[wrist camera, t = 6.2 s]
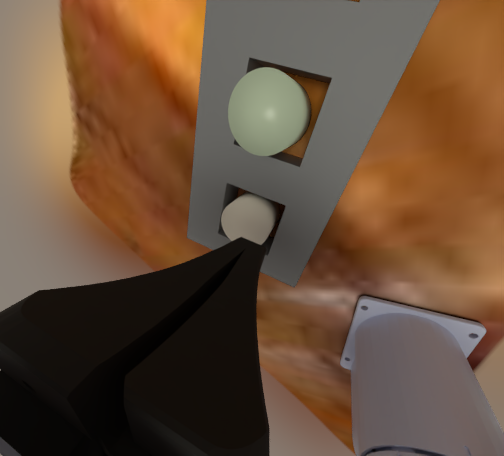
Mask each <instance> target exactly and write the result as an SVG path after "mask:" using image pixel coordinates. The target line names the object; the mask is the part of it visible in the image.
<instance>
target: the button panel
mask: <svg viewBox="0 0 504 456" xmlns="http://www.w3.org/2000/svg"><path fill="white" fill-rule="evenodd" d="M439 1H440V0H360V2H354V1H348V0H207V2H206V14H205V26H204V38H203V50H202V62H201V74H200V86H199V99H198V111H197V123H196V135H195V147H194V159H193V171H192V183H191V195H190V207H189V220H188V232H187V238H189V239H191V240H193V241H195V242H197V243H199V244H202V245H204V246H206V247H208V248H210V249H212V250H215V249H217V248H219V247H221V246H223V245H226V244H227V243H229V242H231V240H230V239H229V238H228V237H227V235H226V234H225V232H224V230H223V228H222V223H221V217H222V213H223V211H224V209H225V208H226V207H227V206H228V205H229V204H230V203H232V202H233V201H234V200H236V198H237V193H238V188H241V189H244V190H247V191H249V192H252V193H254V194H257V195H260V196H262V197H265V198H267V199H270V200H272V201H275V202H278V203H280V204H283V205H285V206H286V207H285V210H284V213H283V216H282V218H281V221H280V224H279V227H278V229H277V232H276V235H275V238H274V239H273V238H270V237H267V239H266V240H265V242H264V243H263V244H261V245H262V246H264V247H266V249H267V251H266V254H265V257H264V260H263V263H262V266H261V269H260V272H262V273H264V274H266V275H268V276H271V277H273V278H275V279H277V280H279V281H281V282H284V283H286V284H288V285H290V286H292V287H294V288H295V286H296V284H297V282H298V280H299V278H300V276H301V274H302V272H303V270H304V268H305V266H306V264H307V262H308V260H309V258H310V256H311V254H312V252H313V250H314V248H315V246H316V244H317V242H318V240H319V238H320V236H321V234H322V232H323V230H324V228H325V226H326V224H327V222H328V220H329V218H330V216H331V214H332V213H333V211H334V209H335V207H336V205H337V203H338V201H339V199H340V197H341V195H342V193H343V191H344V189H345V187H346V185H347V183H348V181H349V179H350V177H351V175H352V173H353V171H354V169H355V167H356V165H357V163H358V161H359V159H360V157H361V155H362V153H363V151H364V149H365V147H366V145H367V143H368V141H369V139H370V137H371V135H372V133H373V131H374V129H375V127H376V125H377V123H378V121H379V119H380V118H381V116H382V114H383V112H384V110H385V108H386V106H387V104H388V102H389V100H390V98H391V96H392V94H393V92H394V90H395V88H396V86H397V84H398V82H399V80H400V78H401V76H402V74H403V72H404V70H405V68H406V66H407V64H408V62H409V60H410V58H411V56H412V54H413V52H414V50H415V48H416V46H417V44H418V42H419V40H420V38H421V36H422V34H423V32H424V30H425V28H426V26H427V25H428V23H429V21H430V19H431V17H432V15H433V13H434V11H435V9H436V7H437V5H438V3H439ZM263 67H270V68H275V69H278V70H280V71H283V72H287V73H291V74H295V75H299V76H303V77H307V78H311V79H315V80H319V81H323V82H327V83H330V85H329V88H328V91H327V94H326V97H325V99H324V102H323V105H322V108H321V110H320V113H319V116H318V119H317V121H316V124H315V127H314V130H313V133H312V135H311V138H310V141H309V144H308V146H307V149H306V152H305V155H304V157H303V159H302V158H299V157H296V156H293V155H290V154H287V153H284V152H279V153H277V154H274V155H270V156H258V155H254V154H252V153H249V152H248V151H246V150H245V149H243V148H242V147H241V146H240V145H239V144H238V142H237V141H236V140H235V138H234V136H233V134H232V132H231V129H230V125H229V120H228V106H229V101H230V97H231V94H232V92H233V90H234V88H235V86H236V85H237V83H238V82H239V81H240V79H241V78H242V77H243V76H245V75H246V74H247V73H249V72H251V71H252V70H255V69H258V68H263Z"/></svg>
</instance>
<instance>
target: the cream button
mask: <svg viewBox="0 0 504 456" xmlns="http://www.w3.org/2000/svg"><path fill="white" fill-rule="evenodd" d="M279 217H280V207H279V204H278V202H275V201H272V200H270V199H267V198H265V197H262V196H260V195H257V194H254V193H252V192H249V191H246V192H245V193H244V194H242V195H241V196H240V197H238V198H237V199H236V200H234V201H233V202H232V203H230V204H229V205H228V206H227V207H226V208H225V209H224V211H223V213H222V217H221V223H222V228H223V230H224V232H225V234H226V235H227V237H228V238H229V239H230V240H231V241H233V240H235V239H237V238H239V237H243V238H245V239H248V240H250V241H252V242H255V243H257V244H259V245H261V244H263V243H264V242H265V240H266V239H267V237H268V236H269V234H270V232H271V231H272V229H273V228H274V226H275V225H276V223H277V222H278V220H279Z"/></svg>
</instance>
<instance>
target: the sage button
mask: <svg viewBox="0 0 504 456" xmlns="http://www.w3.org/2000/svg"><path fill="white" fill-rule="evenodd" d="M310 119H311V103H310V99H309V96H308V94H307V92H306V91H305V89H304V88H303V87H302V86H301V85H300V84H299V83H298V82H296V81H295V80H293V79H292V78H291V77H289V76H288V75H286V74H285V73H284V72H282V71H280V70H278V69H275V68H270V67H263V68H258V69H255V70H252V71H251V72H249V73H247V74H246V75H245V76H243V77H242V78H241V79H240V81H239V82H238V83H237V85H236V86H235V88H234V90H233V92H232V94H231V97H230V101H229V106H228V120H229V125H230V129H231V132H232V134H233V136H234V138H235V140H236V141H237V142H238V144H239V145H240V146H241V147H242V148H243V149H245V150H246V151H248V152H249V153H252V154H254V155H258V156H270V155H274V154H277V153H279V152H281V151H283V150H284V149H286V148H288V147H290V146H292V145H293V144H295V143H296V142H298V141H299V140H300V139H301V138H302V137H303V135H304V134H305V132H306V130H307V128H308V126H309V123H310Z"/></svg>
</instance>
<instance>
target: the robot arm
mask: <svg viewBox="0 0 504 456" xmlns="http://www.w3.org/2000/svg"><path fill="white" fill-rule="evenodd" d="M266 251H267V249H266V247H264V246H262V245H259V244H257V243H255V242H252V241H250V240H248V239H245V238H243V237H239V238H237V239H235V240H233V241H231V242H229V243H227V244H226V245H223V246H221V247H219V248H217V249H215V250H213V251H211V252H209V253H207V254H204V255H202V256H200V257H197V258H195V259H192V260H190V261H187V262H184V263H182V264H179V265H176V266H173V267H170V268H167V269H163V270H160V271H156V272H152V273H148V274H144V275H140V276H136V277H131V278H126V279H121V280H116V281H110V282H105V283H98V284H92V285H84V286H76V287H67V288H58V289H50V290H39V291H37V292H35V293H34V294H32V295H30V296H28V297H26V298H25V299H23V300H21V301H19V302H18V303H16V304H14V305H12V306H11V307H9V308H7V309H5V310H3V311H2V312H0V369H1V371H0V453H1V454H2V455H3V456H269V424H268V417H267V412H266V406H265V399H264V393H263V387H262V380H261V372H260V363H259V351H258V340H257V321H256V303H257V286H258V278H259V272H260V269H261V266H262V263H263V260H264V257H265V254H266ZM362 306H367V307H362ZM471 333H474V334H471ZM485 333H486V329H485V327H484V326H483V325H482V324H481V323H478V322H474V321H469V320H465V319H461V318H457V317H453V316H448V315H444V314H440V313H436V312H432V311H427V310H423V309H419V308H415V307H410V306H406V305H402V304H398V303H394V302H389V301H385V300H381V299H377V298H372V297H368V296H361V297H360V298H359V300H358V303H357V307H356V310H355V313H354V316H353V320H352V323H351V326H350V330H349V333H348V336H347V340H346V343H345V346H344V349H343V353H342V356H341V359H340V365H341V366H342V367H343V368H346V369H349V370H351V399H352V437H353V445H354V449H355V453H356V456H504V432H503V430H502V428H501V426H500V424H499V422H498V421H497V418H496V416H495V414H494V412H493V410H492V409H491V406H490V404H489V403H488V401H487V399H486V397H485V395H484V393H483V391H482V389H481V387H480V385H479V383H478V381H477V379H476V377H475V375H474V373H473V371H472V369H471V367H470V365H469V363H468V361H467V359H466V358H467V357H468V356H469V354H470V353H471V352H472V351H473V349H474V348H475V347H476V345H477V344H478V343H479V341H480V340H481V339H482V337H483V336H484V335H485Z"/></svg>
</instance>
